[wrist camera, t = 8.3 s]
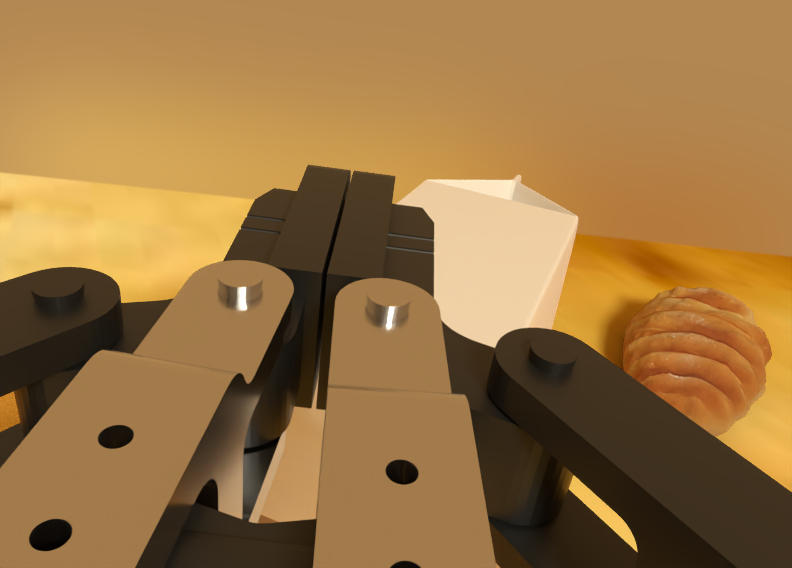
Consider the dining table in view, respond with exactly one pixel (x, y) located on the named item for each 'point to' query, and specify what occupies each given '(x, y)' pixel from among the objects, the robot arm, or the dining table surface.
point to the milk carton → (457, 296)
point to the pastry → (699, 354)
